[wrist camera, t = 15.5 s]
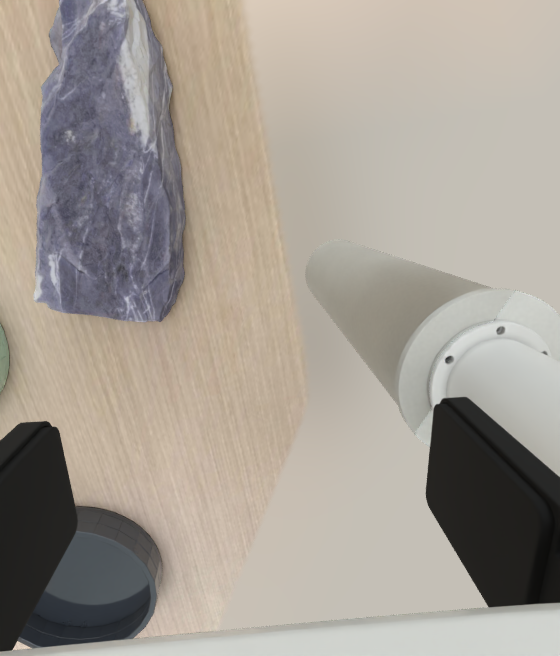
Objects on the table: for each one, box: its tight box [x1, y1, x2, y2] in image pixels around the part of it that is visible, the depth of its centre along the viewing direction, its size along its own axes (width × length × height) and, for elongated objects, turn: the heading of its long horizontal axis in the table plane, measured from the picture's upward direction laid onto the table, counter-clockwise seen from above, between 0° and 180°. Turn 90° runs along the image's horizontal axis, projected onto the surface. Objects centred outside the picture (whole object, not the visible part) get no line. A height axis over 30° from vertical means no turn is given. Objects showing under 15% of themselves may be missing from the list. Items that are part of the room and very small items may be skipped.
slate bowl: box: [17, 507, 163, 648], centre depth 41 cm, size 16×16×3 cm
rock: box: [34, 0, 186, 322], centre depth 29 cm, size 25×11×5 cm, turn 171°
